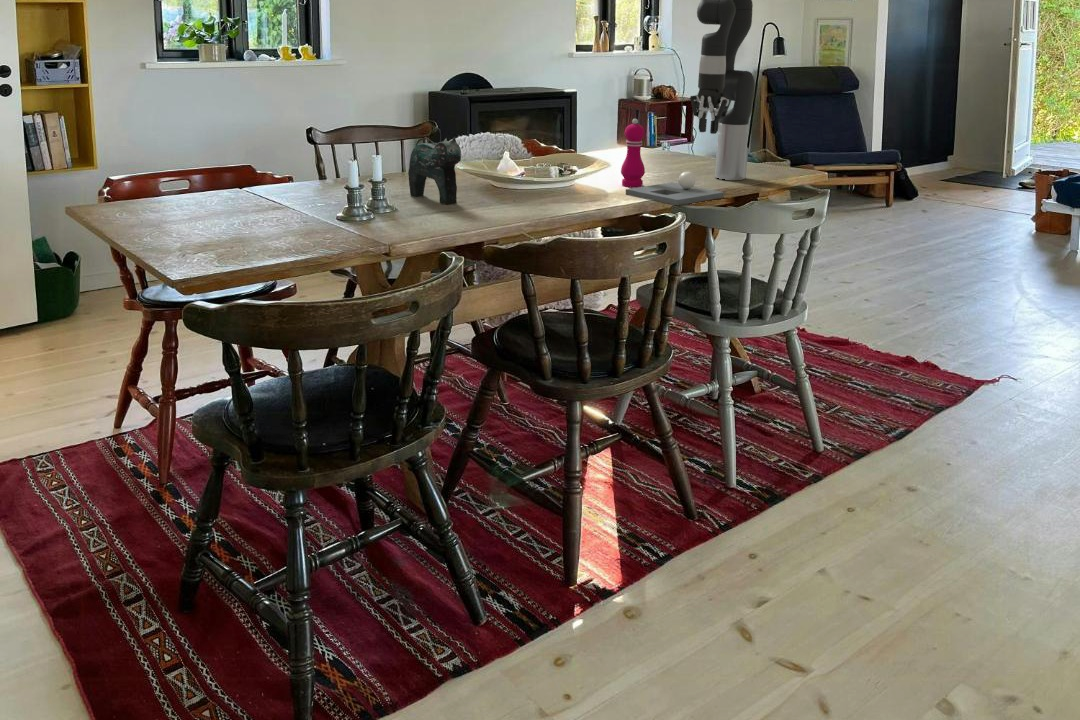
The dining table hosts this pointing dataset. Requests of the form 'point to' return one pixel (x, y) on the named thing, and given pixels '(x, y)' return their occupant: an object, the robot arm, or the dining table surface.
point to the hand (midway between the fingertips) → (707, 132)
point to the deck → (674, 193)
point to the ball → (686, 180)
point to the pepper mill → (633, 156)
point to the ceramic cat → (435, 168)
